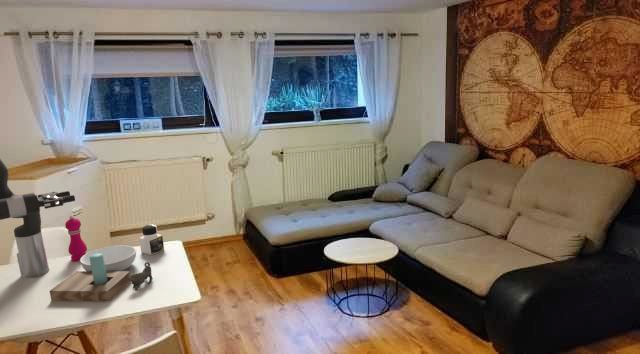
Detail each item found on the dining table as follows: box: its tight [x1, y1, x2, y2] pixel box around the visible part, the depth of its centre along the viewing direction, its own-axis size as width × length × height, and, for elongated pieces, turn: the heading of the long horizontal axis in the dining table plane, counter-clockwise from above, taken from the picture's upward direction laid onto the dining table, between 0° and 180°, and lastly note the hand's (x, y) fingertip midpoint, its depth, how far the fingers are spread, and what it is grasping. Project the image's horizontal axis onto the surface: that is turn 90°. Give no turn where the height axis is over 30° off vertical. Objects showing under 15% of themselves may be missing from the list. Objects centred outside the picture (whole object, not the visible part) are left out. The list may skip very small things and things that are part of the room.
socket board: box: [49, 270, 131, 303], centre depth 176 cm, size 22×16×4 cm
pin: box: [89, 253, 108, 285], centre depth 174 cm, size 5×5×14 cm
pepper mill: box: [64, 214, 88, 263], centre depth 205 cm, size 7×7×20 cm
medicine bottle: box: [138, 224, 165, 256], centre depth 210 cm, size 7×7×12 cm
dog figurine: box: [129, 261, 153, 291], centre depth 178 cm, size 12×6×7 cm, turn 165°
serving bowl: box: [79, 244, 137, 271], centre depth 193 cm, size 21×21×7 cm
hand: (72, 195), depth 179 cm, fingers open, 8 cm apart
